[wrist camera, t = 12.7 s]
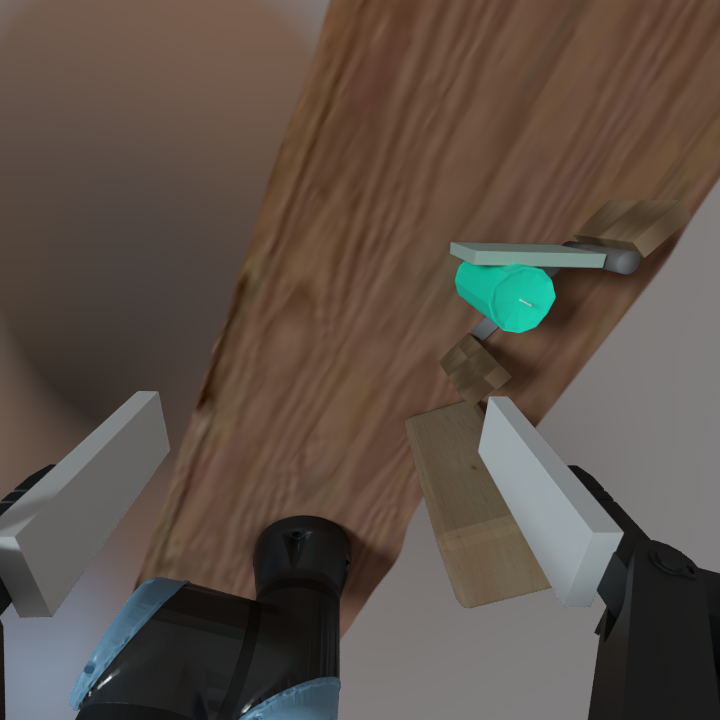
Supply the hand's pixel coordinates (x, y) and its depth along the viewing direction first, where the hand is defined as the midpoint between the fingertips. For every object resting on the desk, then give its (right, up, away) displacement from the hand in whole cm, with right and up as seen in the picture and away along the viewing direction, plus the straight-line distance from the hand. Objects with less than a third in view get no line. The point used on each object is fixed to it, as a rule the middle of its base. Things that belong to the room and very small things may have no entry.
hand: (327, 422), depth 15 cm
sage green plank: (+17, +15, +25) cm, 34 cm away
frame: (+20, +10, +28) cm, 36 cm away
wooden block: (+13, -8, +36) cm, 39 cm away
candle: (+15, +12, +27) cm, 33 cm away
